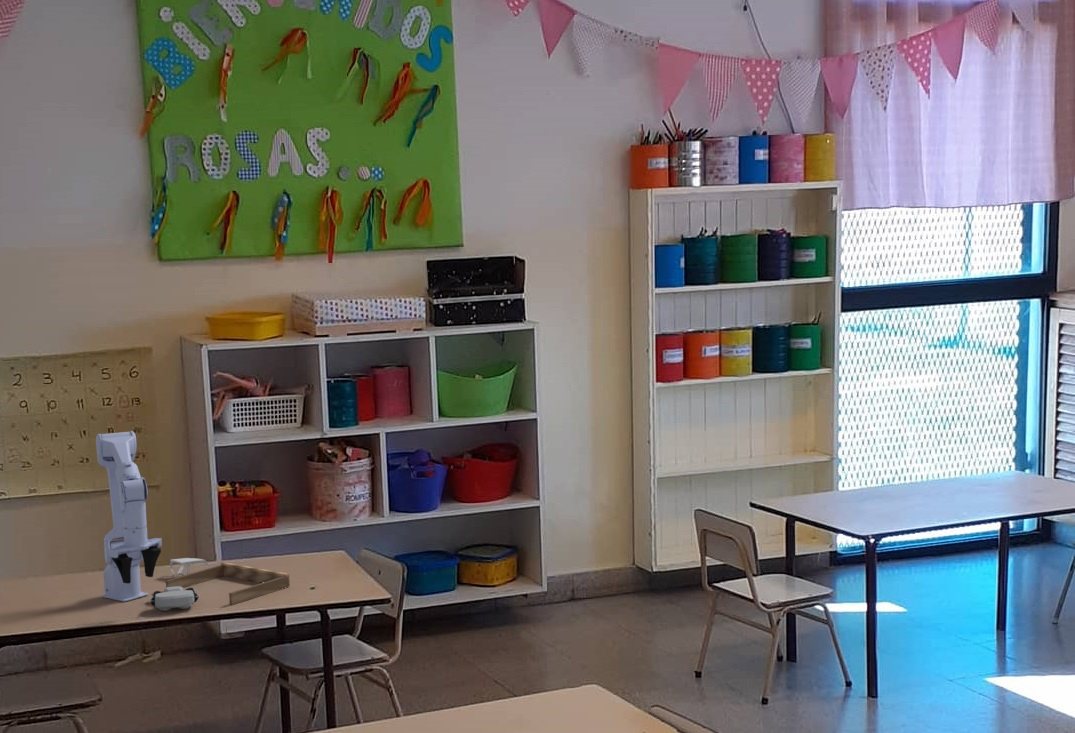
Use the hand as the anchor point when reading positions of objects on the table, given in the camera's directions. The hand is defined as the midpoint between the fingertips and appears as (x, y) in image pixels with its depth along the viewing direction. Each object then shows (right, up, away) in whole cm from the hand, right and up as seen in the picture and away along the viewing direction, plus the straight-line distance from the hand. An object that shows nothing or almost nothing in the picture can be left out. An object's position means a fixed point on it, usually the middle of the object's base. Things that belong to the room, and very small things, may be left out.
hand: (138, 579), depth 347 cm
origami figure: (+3, -6, +39) cm, 39 cm away
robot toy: (+7, -9, +10) cm, 15 cm away
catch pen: (+17, -6, +24) cm, 30 cm away
